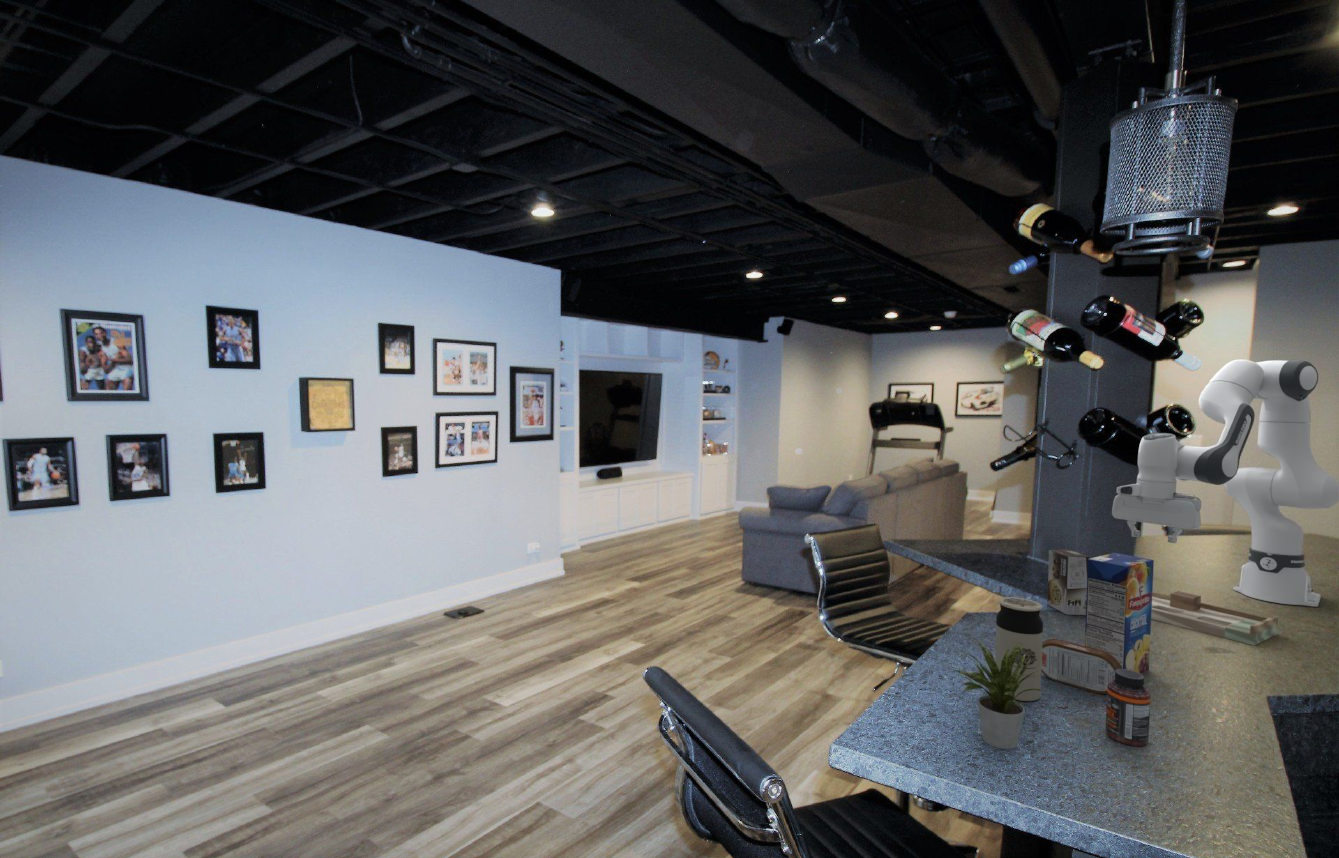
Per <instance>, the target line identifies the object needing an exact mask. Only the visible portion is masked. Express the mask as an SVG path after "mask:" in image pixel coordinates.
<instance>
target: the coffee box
mask: <svg viewBox="0 0 1339 858" xmlns="http://www.w3.org/2000/svg"><path fill="white" fill-rule="evenodd" d="M1090 558H1092V557H1091V556H1089V555H1087V554H1084V553H1081V552H1077V551H1075V550H1072V549H1049V550H1048V575H1047V579H1048V580H1047V606H1049V607H1051V608H1053V609H1055V610H1057V611H1059V612H1061V613H1063V614H1065V615H1069V616H1070V615H1073V616H1074V615H1075V616H1086V598H1087V573H1088V559H1090Z"/></svg>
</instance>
